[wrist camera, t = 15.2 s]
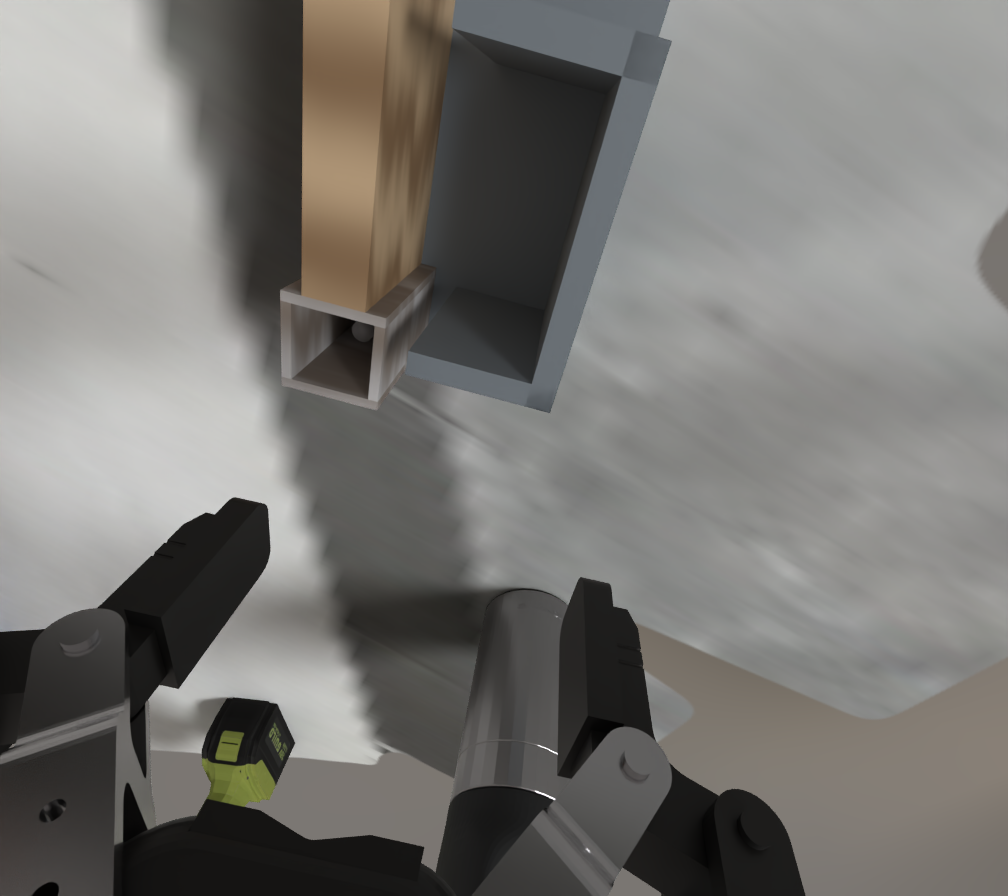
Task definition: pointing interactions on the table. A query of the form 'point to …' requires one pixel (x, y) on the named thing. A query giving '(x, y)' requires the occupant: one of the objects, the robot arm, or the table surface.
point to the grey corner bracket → (529, 184)
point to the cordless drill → (246, 751)
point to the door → (365, 192)
